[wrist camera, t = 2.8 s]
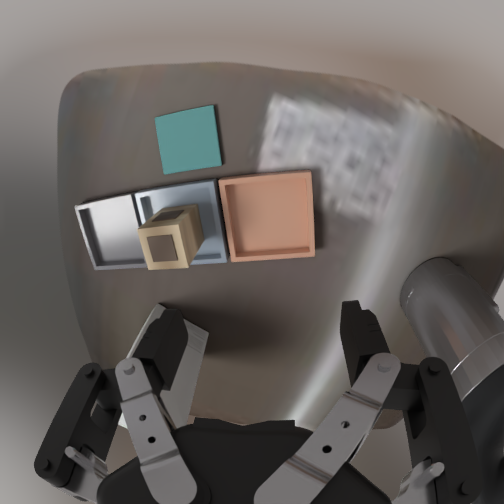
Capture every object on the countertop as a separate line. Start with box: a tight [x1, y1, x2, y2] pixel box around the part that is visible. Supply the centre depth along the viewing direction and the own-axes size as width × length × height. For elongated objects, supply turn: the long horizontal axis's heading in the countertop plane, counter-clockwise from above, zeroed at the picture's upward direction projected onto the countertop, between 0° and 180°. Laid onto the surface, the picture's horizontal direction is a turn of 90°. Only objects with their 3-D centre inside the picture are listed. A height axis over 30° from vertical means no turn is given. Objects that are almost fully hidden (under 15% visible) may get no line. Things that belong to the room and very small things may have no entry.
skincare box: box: [118, 304, 209, 429], centre depth 29 cm, size 8×7×16 cm
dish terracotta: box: [219, 170, 315, 262], centre depth 27 cm, size 8×8×2 cm
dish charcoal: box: [75, 191, 148, 270], centre depth 29 cm, size 8×8×2 cm
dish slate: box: [135, 178, 229, 265], centre depth 28 cm, size 8×8×2 cm
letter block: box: [137, 204, 205, 270], centre depth 26 cm, size 4×4×6 cm
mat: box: [155, 105, 222, 175], centre depth 25 cm, size 6×6×1 cm
